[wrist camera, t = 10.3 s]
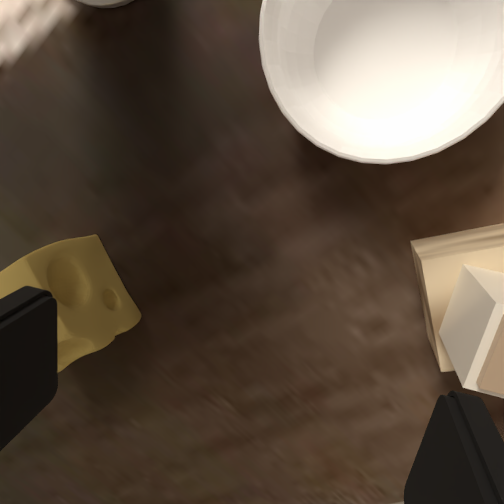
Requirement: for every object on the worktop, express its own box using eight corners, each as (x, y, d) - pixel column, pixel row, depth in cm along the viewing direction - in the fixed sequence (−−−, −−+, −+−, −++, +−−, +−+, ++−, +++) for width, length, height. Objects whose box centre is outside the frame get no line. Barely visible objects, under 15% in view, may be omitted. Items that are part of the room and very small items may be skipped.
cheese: (146, 316, 43) (88, 367, 34) (69, 346, 46) (-2, 400, 37) (97, 226, 41) (23, 253, 32) (22, 263, 45) (-65, 298, 35)
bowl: (297, -80, 31) (279, -148, 23) (531, -66, 28) (597, -139, 20) (264, 141, 35) (242, 144, 28) (461, 172, 33) (493, 184, 25)
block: (409, 240, 35) (421, 260, 29) (529, 217, 33) (566, 235, 27) (427, 335, 37) (441, 372, 31) (541, 321, 34) (578, 357, 29)
